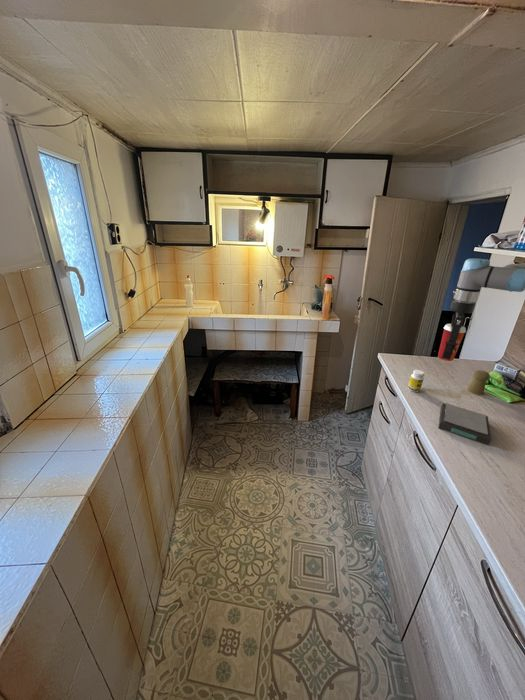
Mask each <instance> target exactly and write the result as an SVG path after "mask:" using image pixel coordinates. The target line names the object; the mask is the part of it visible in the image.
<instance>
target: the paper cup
mask: <svg viewBox="0 0 525 700" xmlns="http://www.w3.org/2000/svg"><path fill="white" fill-rule="evenodd" d="M451 330H452V326H451V323H446V324H445V325H444V327H443V332H442V335H441V340H440V344H439V350H438V353H437V354H438V355H437V358H438V359H439V360H442V361H446V362H452V361H454V359H455V357H456V354H457V352H458V351H459V347H460V345H461V343H462V340H463V338H464V336H465V334H466V332H467V328H466V327H465V326H464V325H462V327H461V328H460V331H459V334H458V337H457V340H456V344H455V346H454V349H453V352H452V355H451V358H450V360H449V359H445V358H442V356H443V353H444V350H445V347H446V343H445V342H448V339H449V336H450V333H451Z"/></svg>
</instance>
